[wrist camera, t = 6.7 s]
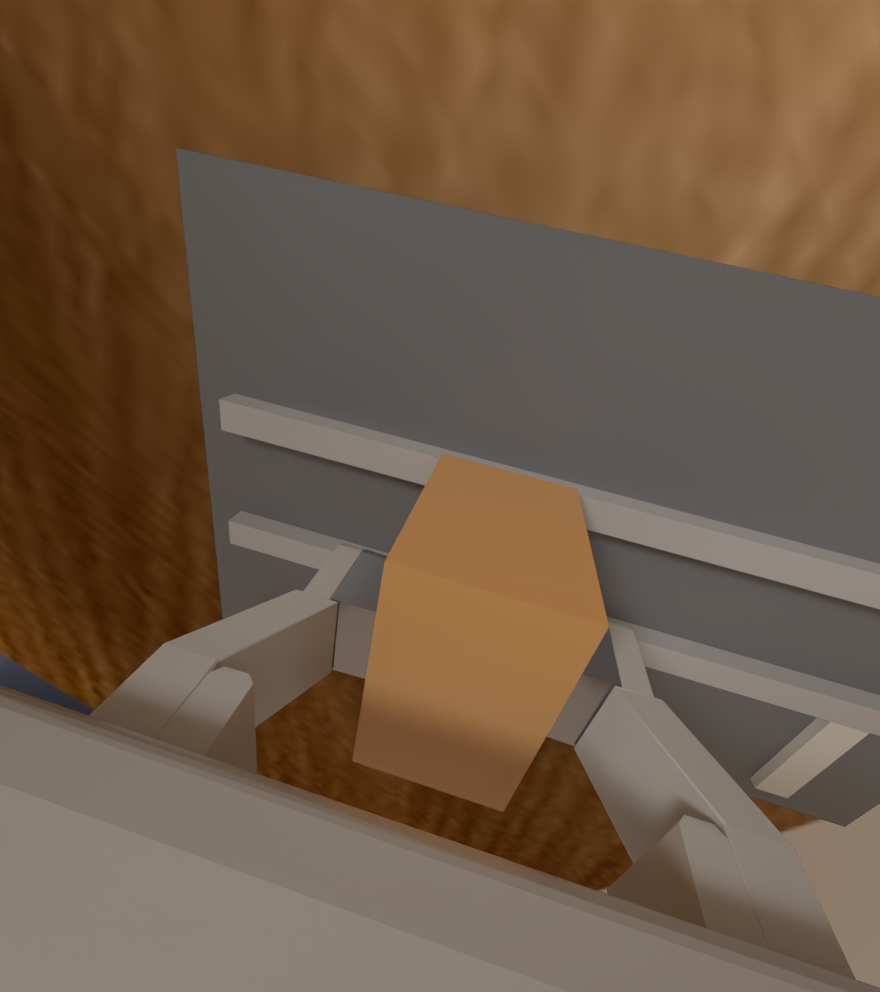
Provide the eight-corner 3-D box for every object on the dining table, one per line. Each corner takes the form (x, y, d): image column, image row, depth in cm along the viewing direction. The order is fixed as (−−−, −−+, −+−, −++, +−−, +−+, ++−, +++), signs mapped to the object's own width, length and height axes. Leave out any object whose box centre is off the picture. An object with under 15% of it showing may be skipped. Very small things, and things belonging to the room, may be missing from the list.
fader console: (269, 578, 17) (212, 642, 14) (262, 181, 11) (150, 137, 8) (792, 736, 16) (857, 849, 13) (1184, 380, 9) (1541, 432, 6)
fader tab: (414, 595, 12) (352, 761, 8) (448, 441, 10) (385, 561, 5) (513, 625, 12) (502, 811, 8) (574, 473, 9) (609, 626, 5)
